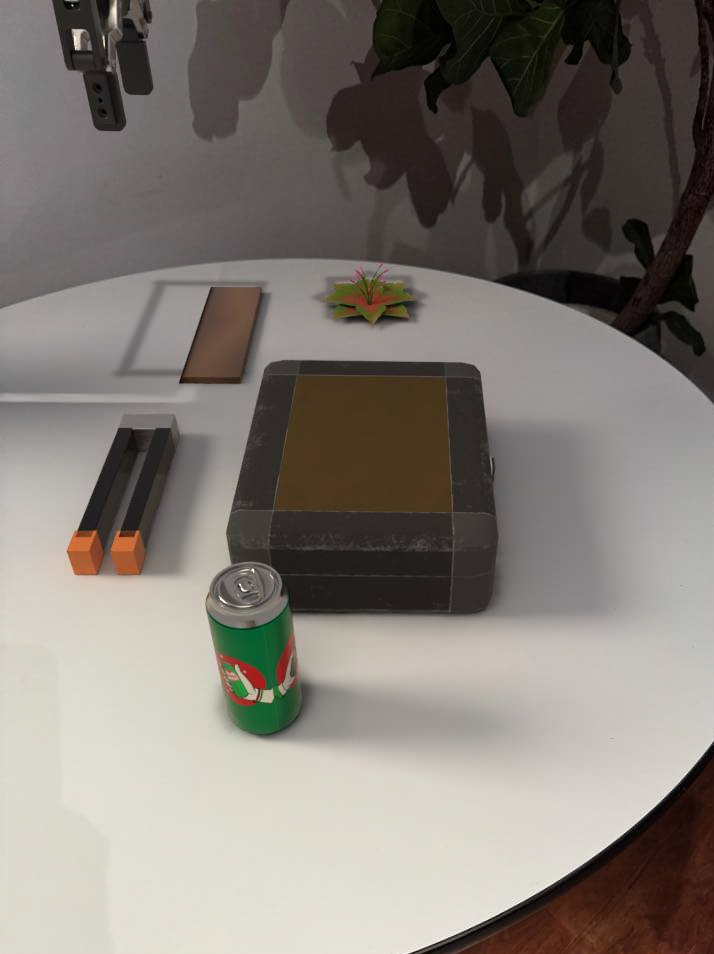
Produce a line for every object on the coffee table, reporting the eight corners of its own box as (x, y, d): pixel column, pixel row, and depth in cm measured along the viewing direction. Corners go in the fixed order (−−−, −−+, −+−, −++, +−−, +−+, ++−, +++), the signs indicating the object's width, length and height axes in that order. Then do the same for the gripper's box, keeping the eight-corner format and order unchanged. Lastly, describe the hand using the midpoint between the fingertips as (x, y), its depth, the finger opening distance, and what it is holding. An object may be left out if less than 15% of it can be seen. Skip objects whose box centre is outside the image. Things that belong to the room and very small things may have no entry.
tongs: (139, 574, 69) (133, 551, 68) (74, 574, 69) (66, 550, 68) (181, 436, 83) (177, 413, 81) (127, 436, 83) (121, 413, 81)
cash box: (500, 618, 66) (509, 544, 61) (233, 615, 66) (220, 540, 61) (481, 427, 85) (487, 357, 80) (272, 424, 85) (264, 354, 79)
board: (124, 383, 90) (122, 376, 89) (162, 292, 105) (160, 286, 104) (240, 383, 90) (239, 376, 89) (262, 293, 105) (261, 286, 104)
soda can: (285, 669, 62) (269, 547, 54) (314, 720, 59) (301, 599, 51) (218, 695, 61) (191, 573, 53) (243, 750, 57) (219, 629, 49)
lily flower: (319, 283, 107) (317, 247, 104) (416, 281, 107) (417, 245, 104) (318, 332, 98) (315, 294, 95) (424, 329, 99) (425, 292, 96)
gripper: (50, -173, 60) (102, 83, 71) (-29, -155, 50) (46, 142, 61) (158, -171, 60) (194, 84, 71) (102, -153, 50) (154, 144, 61)
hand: (126, 111), depth 66 cm, fingers open, 8 cm apart
